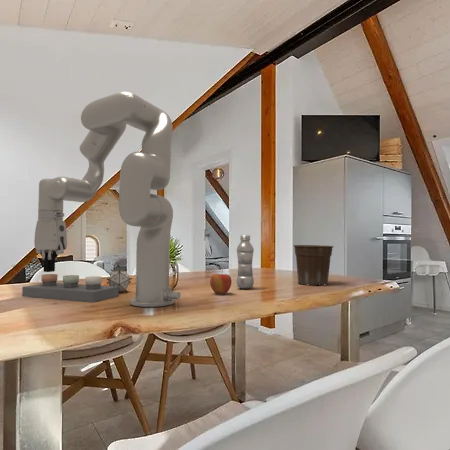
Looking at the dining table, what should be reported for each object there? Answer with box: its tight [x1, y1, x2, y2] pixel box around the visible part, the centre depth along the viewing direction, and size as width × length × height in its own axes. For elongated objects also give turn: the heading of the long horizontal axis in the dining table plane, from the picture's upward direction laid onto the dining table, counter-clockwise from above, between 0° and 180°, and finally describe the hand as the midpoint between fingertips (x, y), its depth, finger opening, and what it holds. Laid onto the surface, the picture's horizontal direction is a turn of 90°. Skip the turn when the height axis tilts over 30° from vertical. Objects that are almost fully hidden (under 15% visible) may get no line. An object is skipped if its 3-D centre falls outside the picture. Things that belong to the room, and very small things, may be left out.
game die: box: [106, 268, 133, 293], centre depth 128 cm, size 9×8×10 cm
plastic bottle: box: [236, 234, 255, 290], centre depth 138 cm, size 6×7×20 cm
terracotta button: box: [40, 273, 58, 286], centre depth 122 cm, size 5×5×5 cm
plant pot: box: [293, 244, 334, 286], centre depth 154 cm, size 16×16×16 cm
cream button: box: [84, 275, 103, 290], centre depth 116 cm, size 5×5×5 cm
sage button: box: [62, 274, 80, 288], centre depth 119 cm, size 5×5×5 cm
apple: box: [209, 270, 232, 295], centre depth 125 cm, size 7×7×8 cm
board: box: [21, 282, 120, 303], centre depth 119 cm, size 28×12×3 cm, turn 70°
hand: (49, 271), depth 122 cm, fingers closed
